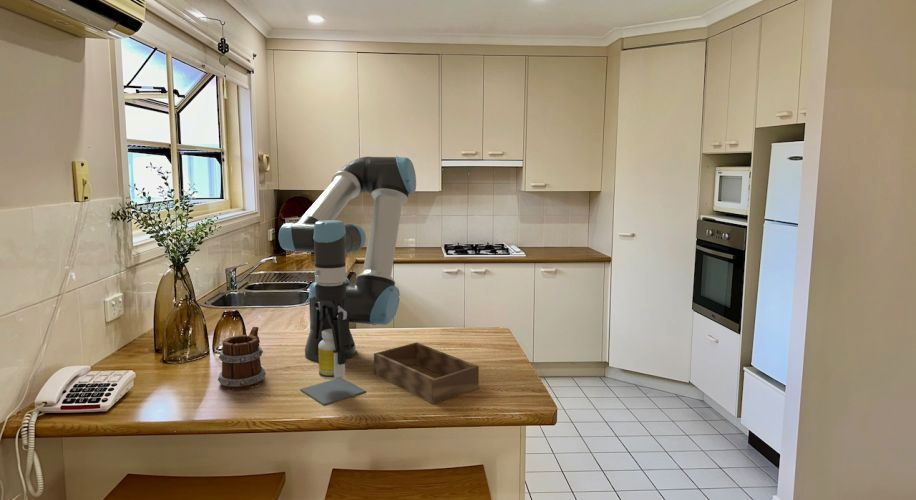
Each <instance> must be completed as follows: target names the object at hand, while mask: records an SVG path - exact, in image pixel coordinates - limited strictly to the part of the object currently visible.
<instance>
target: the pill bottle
mask: <svg viewBox="0 0 916 500" xmlns="http://www.w3.org/2000/svg"><path fill="white" fill-rule="evenodd" d="M322 338H323V340H322V341H320V343H319V345H318V349H319V361H318V375H319V377H320V378H322V379H323V380H334V379H337V378H341V377H342V378H343V376H340V377H336V378H335V377H334V352H333V351H335V350H336V349H335V344H334V339H333V333H332V329H326V330H323V331H322Z"/></svg>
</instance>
